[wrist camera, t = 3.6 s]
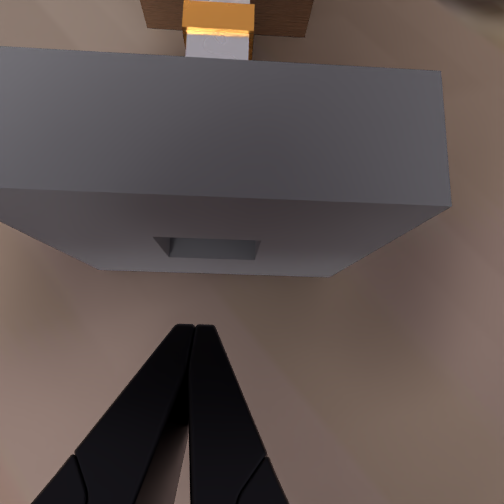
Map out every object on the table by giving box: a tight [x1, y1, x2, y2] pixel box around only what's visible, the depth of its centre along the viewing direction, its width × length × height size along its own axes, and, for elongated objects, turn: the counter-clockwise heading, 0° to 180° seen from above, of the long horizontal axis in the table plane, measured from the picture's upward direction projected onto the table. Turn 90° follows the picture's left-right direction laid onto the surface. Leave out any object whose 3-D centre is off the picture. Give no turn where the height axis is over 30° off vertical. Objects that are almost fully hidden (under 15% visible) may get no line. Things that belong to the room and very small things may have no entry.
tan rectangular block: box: [140, 0, 314, 60], centre depth 15 cm, size 16×8×10 cm, turn 179°
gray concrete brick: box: [0, 46, 452, 277], centre depth 13 cm, size 3×10×10 cm, turn 89°
